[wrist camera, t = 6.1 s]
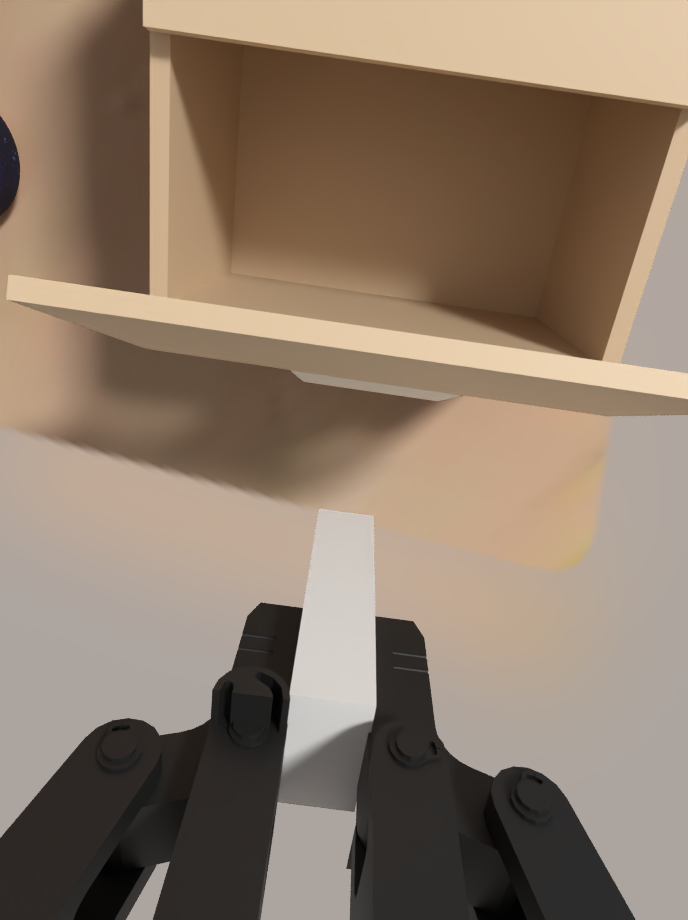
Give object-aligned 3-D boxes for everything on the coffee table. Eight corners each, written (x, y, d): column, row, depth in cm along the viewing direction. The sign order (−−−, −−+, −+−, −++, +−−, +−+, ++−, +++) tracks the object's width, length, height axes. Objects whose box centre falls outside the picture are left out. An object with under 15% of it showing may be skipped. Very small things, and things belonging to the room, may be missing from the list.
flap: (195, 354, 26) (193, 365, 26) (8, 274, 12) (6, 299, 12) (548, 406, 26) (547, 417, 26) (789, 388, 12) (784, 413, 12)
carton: (220, 284, 29) (149, 321, 20) (241, -145, 23) (149, -369, 14) (540, 331, 29) (611, 388, 20) (652, -85, 23) (828, -270, 14)
